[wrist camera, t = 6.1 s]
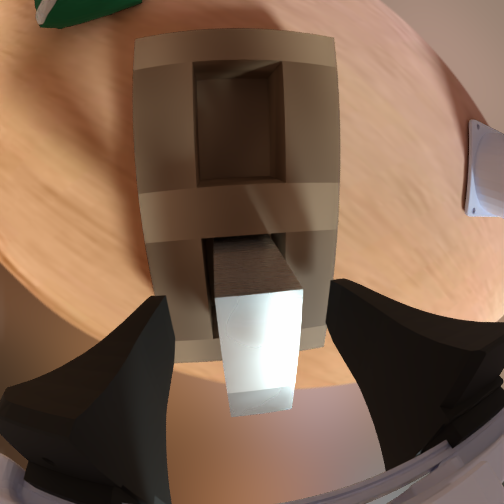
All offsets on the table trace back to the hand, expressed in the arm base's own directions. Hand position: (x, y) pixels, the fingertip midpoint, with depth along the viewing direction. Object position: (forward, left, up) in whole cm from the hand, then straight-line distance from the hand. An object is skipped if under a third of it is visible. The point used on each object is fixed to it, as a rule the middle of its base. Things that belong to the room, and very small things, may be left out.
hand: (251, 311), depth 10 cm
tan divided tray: (0, -4, -6) cm, 7 cm away
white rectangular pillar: (0, 0, -5) cm, 5 cm away
